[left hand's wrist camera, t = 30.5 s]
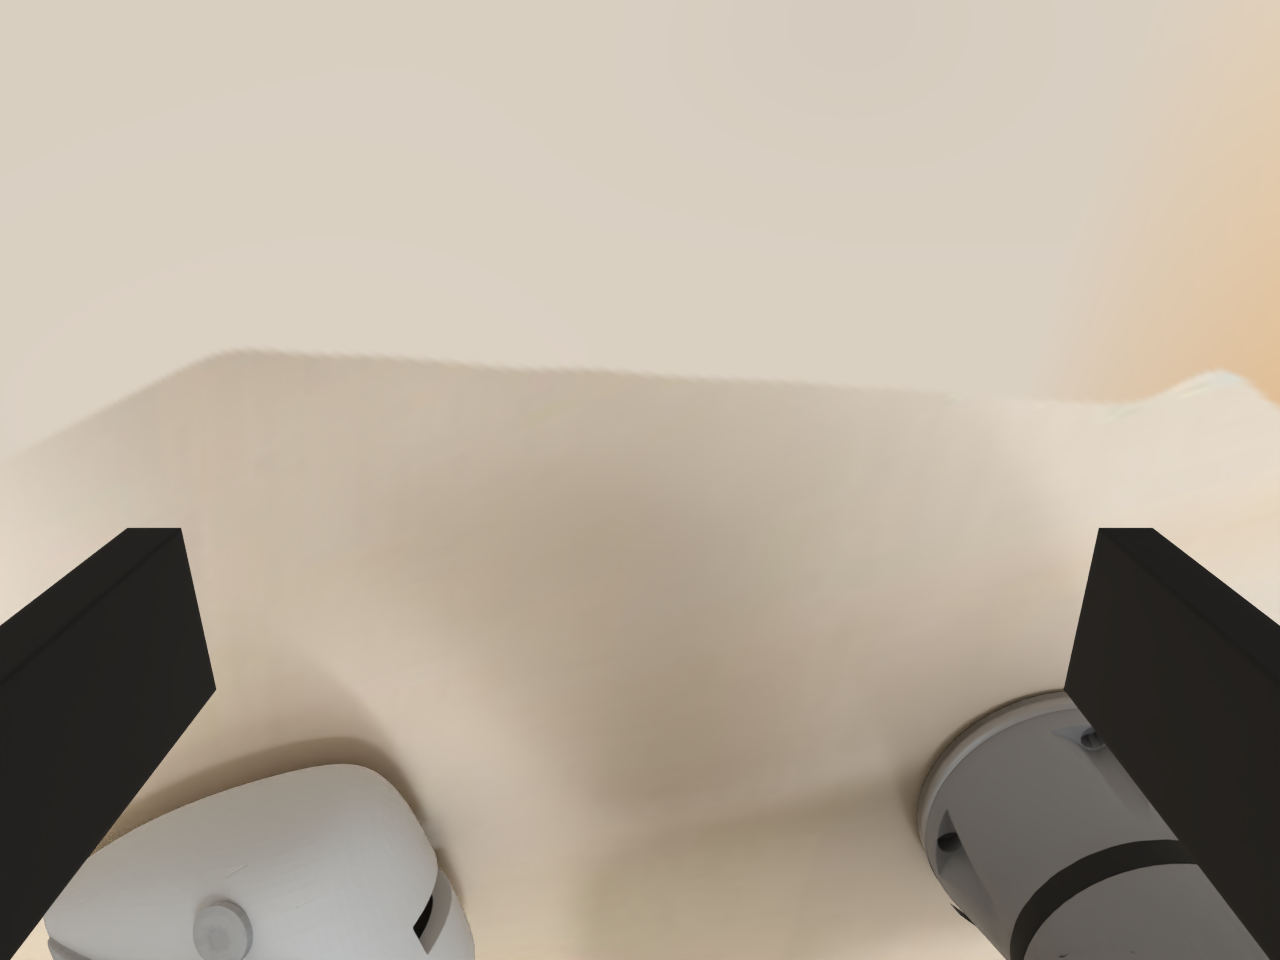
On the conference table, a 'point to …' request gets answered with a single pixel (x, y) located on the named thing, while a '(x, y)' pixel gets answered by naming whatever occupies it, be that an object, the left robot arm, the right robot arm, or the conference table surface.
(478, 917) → the conference table surface
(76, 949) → the projector
